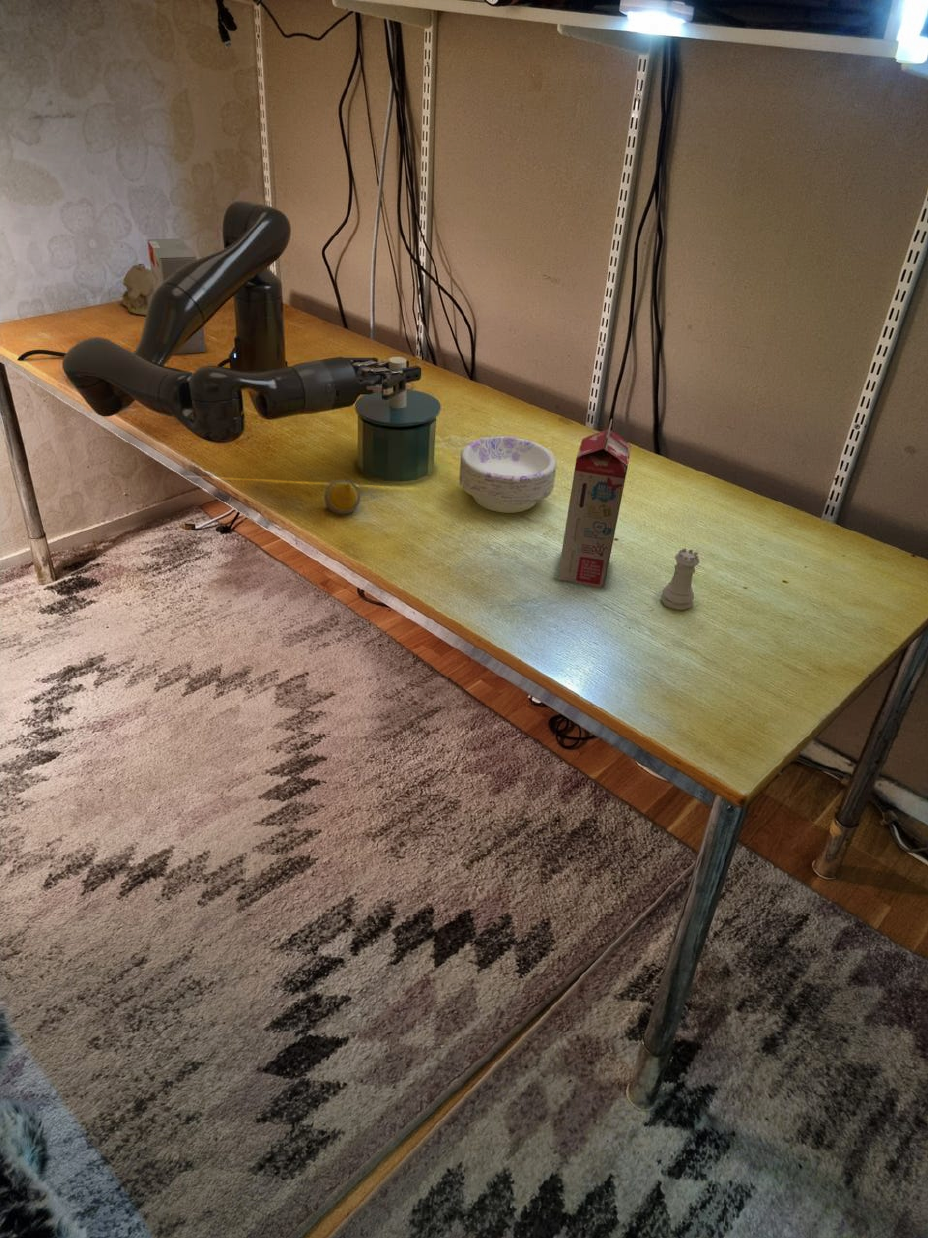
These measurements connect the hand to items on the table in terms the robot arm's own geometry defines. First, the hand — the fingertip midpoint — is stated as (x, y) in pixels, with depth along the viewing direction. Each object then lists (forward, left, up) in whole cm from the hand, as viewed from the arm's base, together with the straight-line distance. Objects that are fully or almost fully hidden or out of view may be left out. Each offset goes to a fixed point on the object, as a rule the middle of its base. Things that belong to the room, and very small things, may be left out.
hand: (413, 369), depth 141 cm
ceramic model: (-65, +79, -17) cm, 104 cm away
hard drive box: (-51, +55, -17) cm, 77 cm away
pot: (-2, -2, -17) cm, 17 cm away
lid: (-2, -2, -6) cm, 7 cm away
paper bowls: (+16, -12, -17) cm, 26 cm away
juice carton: (+26, -33, -17) cm, 45 cm away
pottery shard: (-5, +34, -17) cm, 39 cm away
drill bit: (-9, -19, -17) cm, 27 cm away
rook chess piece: (+38, -40, -17) cm, 57 cm away
